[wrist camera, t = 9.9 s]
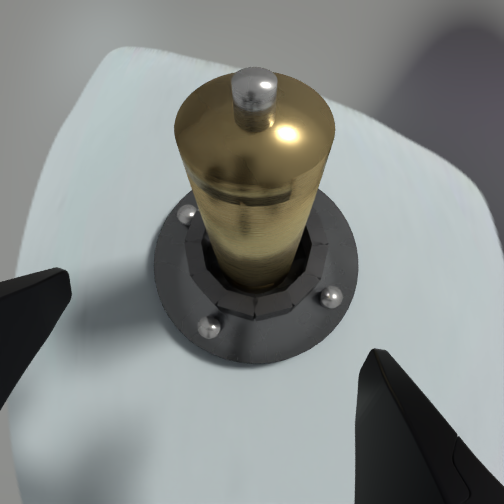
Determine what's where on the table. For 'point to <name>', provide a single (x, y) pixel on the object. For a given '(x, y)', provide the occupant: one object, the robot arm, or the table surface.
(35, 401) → the table surface
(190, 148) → the brass pepper mill
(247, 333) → the grey flange
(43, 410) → the table surface
